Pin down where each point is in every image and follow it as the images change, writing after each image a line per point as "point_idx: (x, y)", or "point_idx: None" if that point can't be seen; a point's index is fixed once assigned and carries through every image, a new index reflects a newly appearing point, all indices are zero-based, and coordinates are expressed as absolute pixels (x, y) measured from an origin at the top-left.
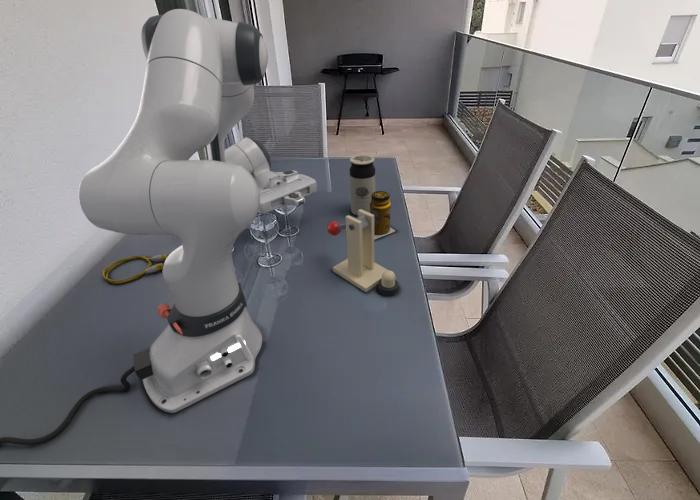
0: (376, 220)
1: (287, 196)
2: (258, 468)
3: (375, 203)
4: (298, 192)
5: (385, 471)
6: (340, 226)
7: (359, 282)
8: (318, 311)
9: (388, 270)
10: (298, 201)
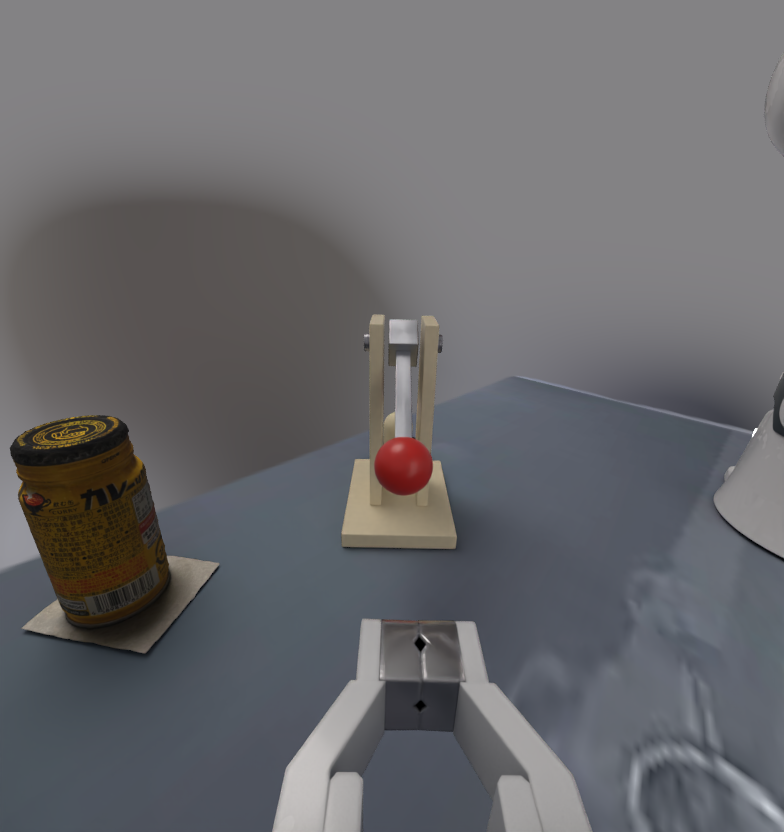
0: (156, 521)
1: (524, 823)
2: (700, 420)
3: (128, 455)
4: (303, 795)
5: (569, 388)
6: (411, 415)
7: (438, 473)
8: (563, 491)
9: (393, 416)
10: (446, 623)
